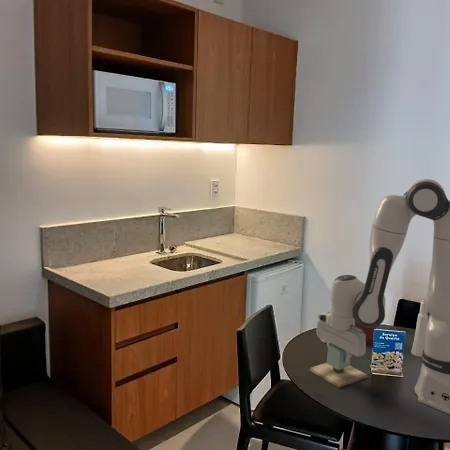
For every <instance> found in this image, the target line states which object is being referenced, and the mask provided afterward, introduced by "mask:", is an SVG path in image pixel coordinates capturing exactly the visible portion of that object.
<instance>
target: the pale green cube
mask: <svg viewBox="0 0 450 450" xmlns="http://www.w3.org/2000/svg"><path fill="white" fill-rule="evenodd" d="M326 355H327V356H326V362H327V364H329V365H330V366H332V367H334V368H336V369H338V370H340V369H343V368H346V367H348V366H351V361H350V362H349V363H346V362H344V361H343V357H346V356H347V354H346V351H345V350H343V349H341V348H339V347H337V346H335V345H333V344H332V345H330V346H328V347H327V354H326Z"/></svg>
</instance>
